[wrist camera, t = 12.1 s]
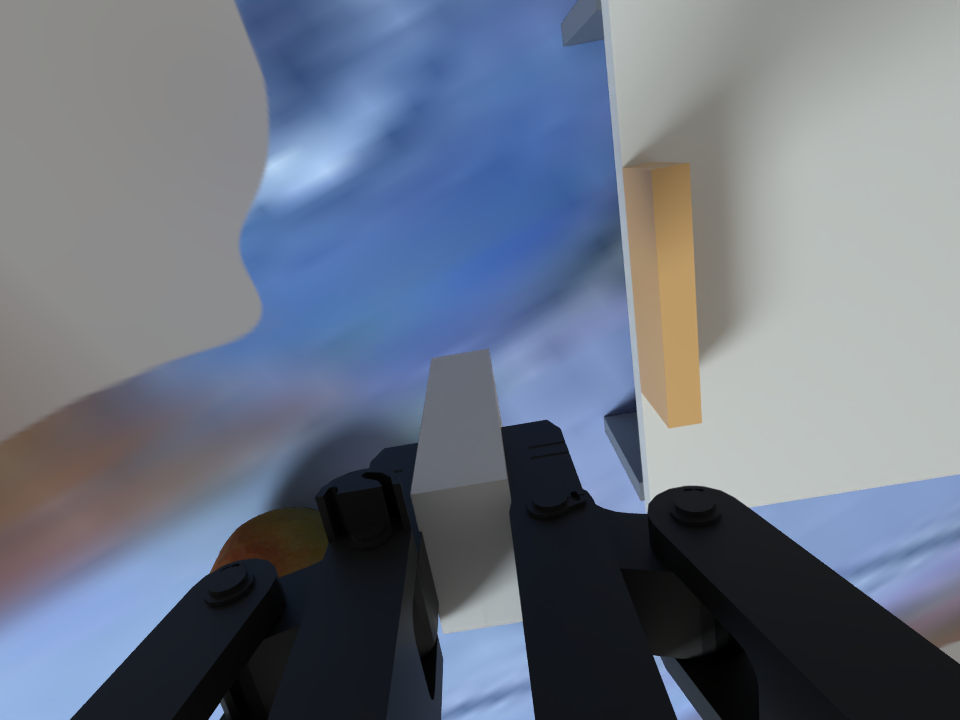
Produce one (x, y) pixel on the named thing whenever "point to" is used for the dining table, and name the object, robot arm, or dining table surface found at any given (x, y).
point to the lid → (790, 240)
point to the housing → (623, 428)
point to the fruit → (278, 540)
